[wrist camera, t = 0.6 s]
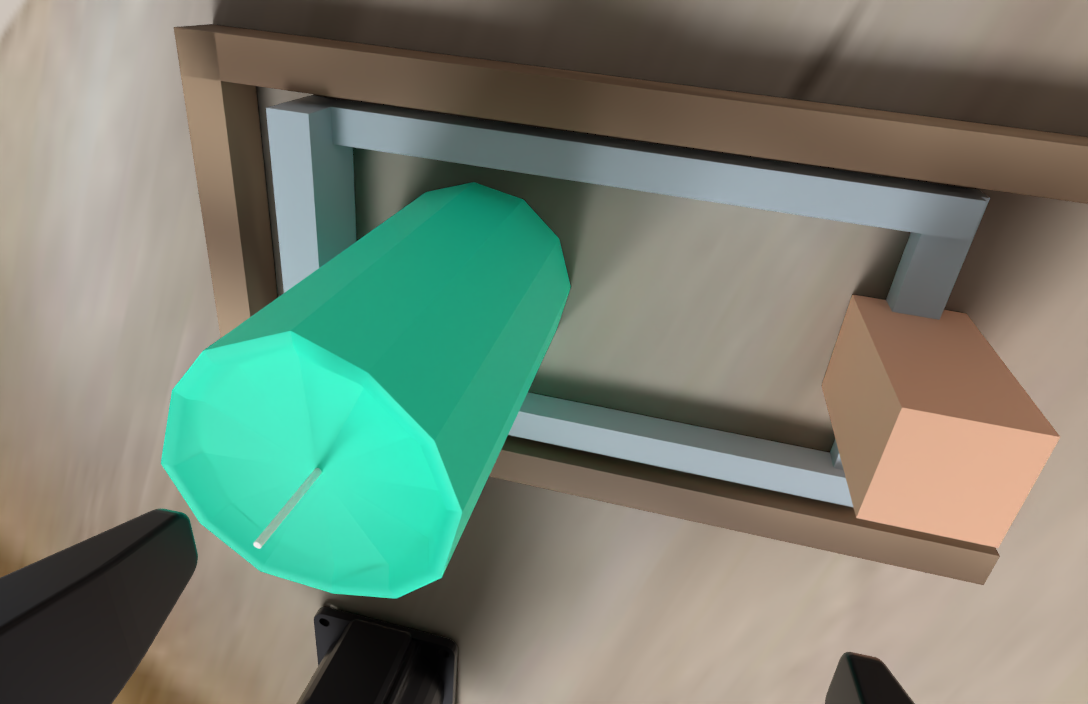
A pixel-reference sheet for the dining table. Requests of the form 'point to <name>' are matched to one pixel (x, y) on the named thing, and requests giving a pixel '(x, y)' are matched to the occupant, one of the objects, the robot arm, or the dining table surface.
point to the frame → (859, 354)
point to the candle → (372, 396)
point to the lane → (620, 111)
